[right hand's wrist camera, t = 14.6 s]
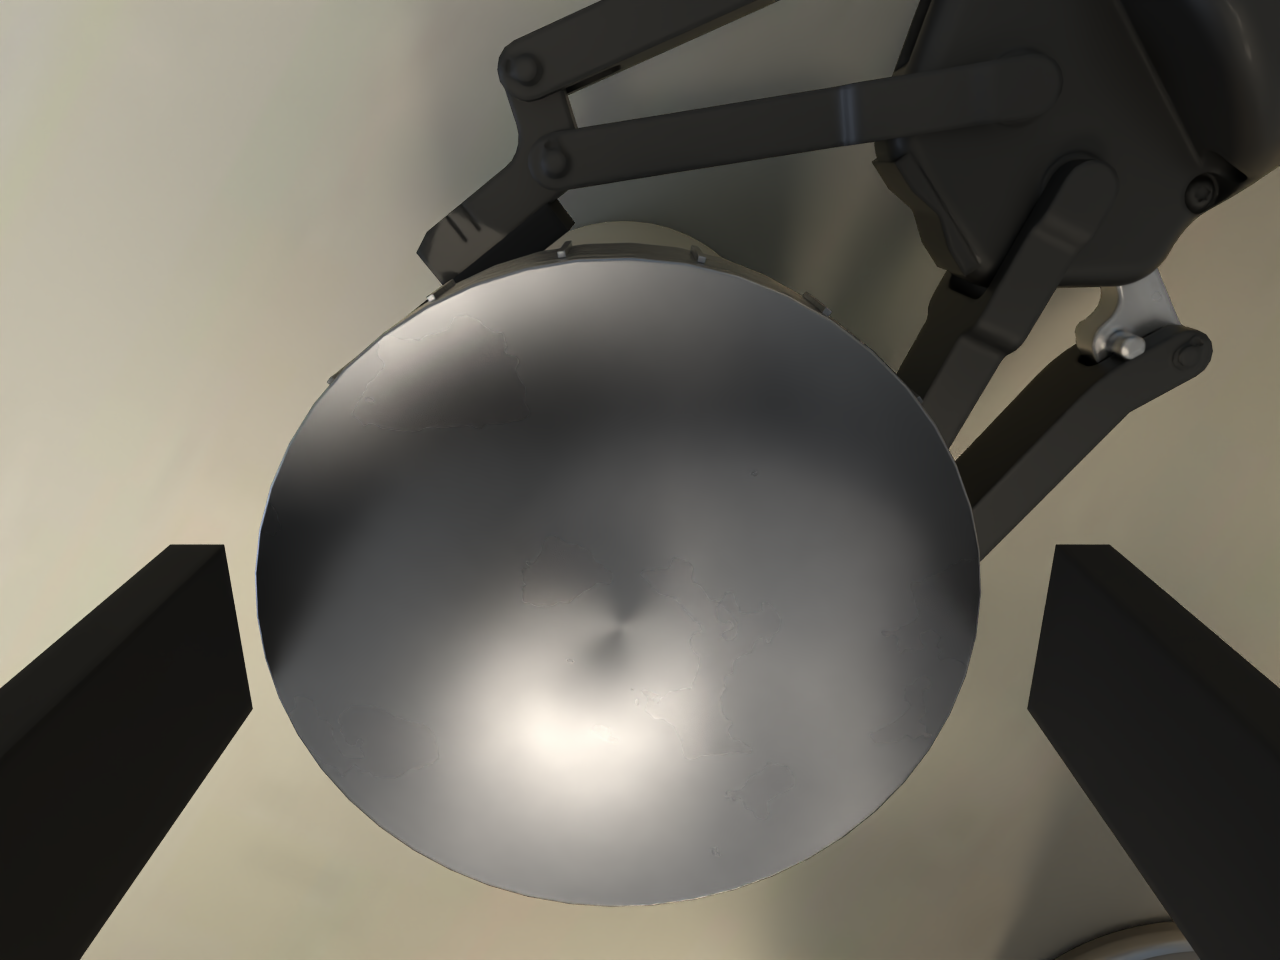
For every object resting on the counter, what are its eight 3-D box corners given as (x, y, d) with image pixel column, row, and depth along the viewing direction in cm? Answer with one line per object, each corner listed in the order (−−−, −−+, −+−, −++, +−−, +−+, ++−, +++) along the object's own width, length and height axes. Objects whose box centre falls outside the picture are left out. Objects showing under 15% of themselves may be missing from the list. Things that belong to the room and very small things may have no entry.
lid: (200, 657, 16) (138, 730, 14) (501, 90, 13) (478, 78, 11) (707, 905, 18) (716, 999, 16) (1070, 466, 15) (1139, 514, 13)
